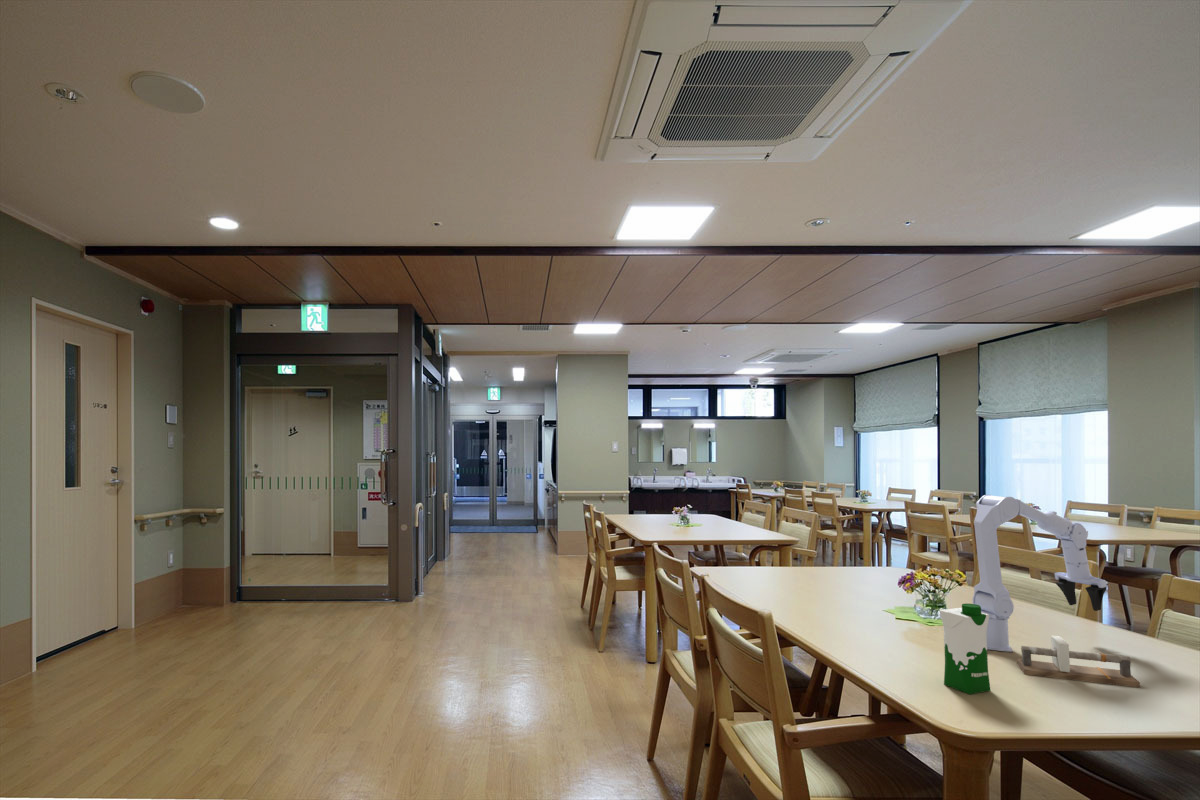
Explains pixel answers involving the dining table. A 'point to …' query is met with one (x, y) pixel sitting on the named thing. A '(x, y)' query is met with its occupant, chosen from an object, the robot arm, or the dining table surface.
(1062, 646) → the collar
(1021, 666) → the slider rail
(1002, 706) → the dining table surface
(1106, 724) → the dining table surface
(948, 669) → the milk carton
